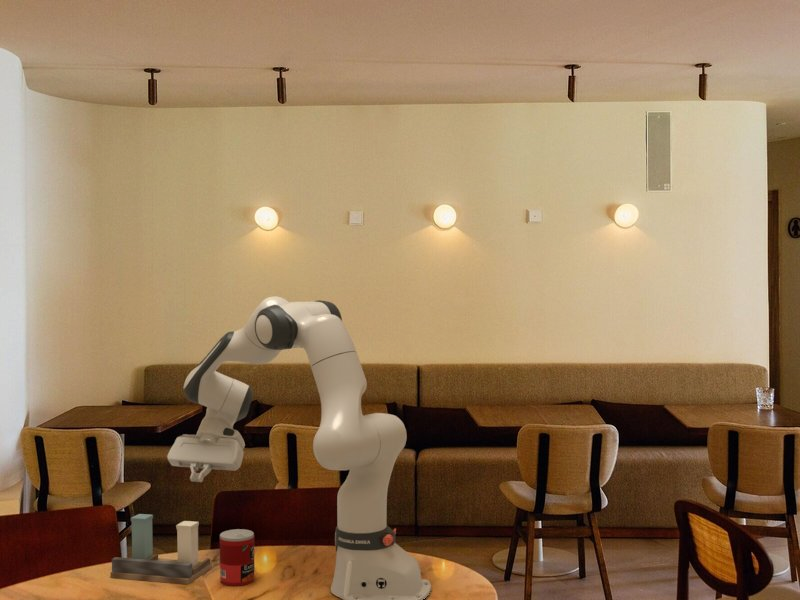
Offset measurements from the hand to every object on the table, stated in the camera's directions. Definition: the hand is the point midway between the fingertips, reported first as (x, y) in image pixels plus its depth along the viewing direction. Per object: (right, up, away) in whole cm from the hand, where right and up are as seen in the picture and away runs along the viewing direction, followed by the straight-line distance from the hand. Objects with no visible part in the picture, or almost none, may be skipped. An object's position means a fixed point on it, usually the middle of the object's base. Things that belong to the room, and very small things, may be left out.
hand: (195, 480), depth 222 cm
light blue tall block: (-10, -17, -14) cm, 24 cm away
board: (-4, -18, -18) cm, 26 cm away
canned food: (+15, -18, -24) cm, 34 cm away
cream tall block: (+3, -17, -20) cm, 26 cm away
